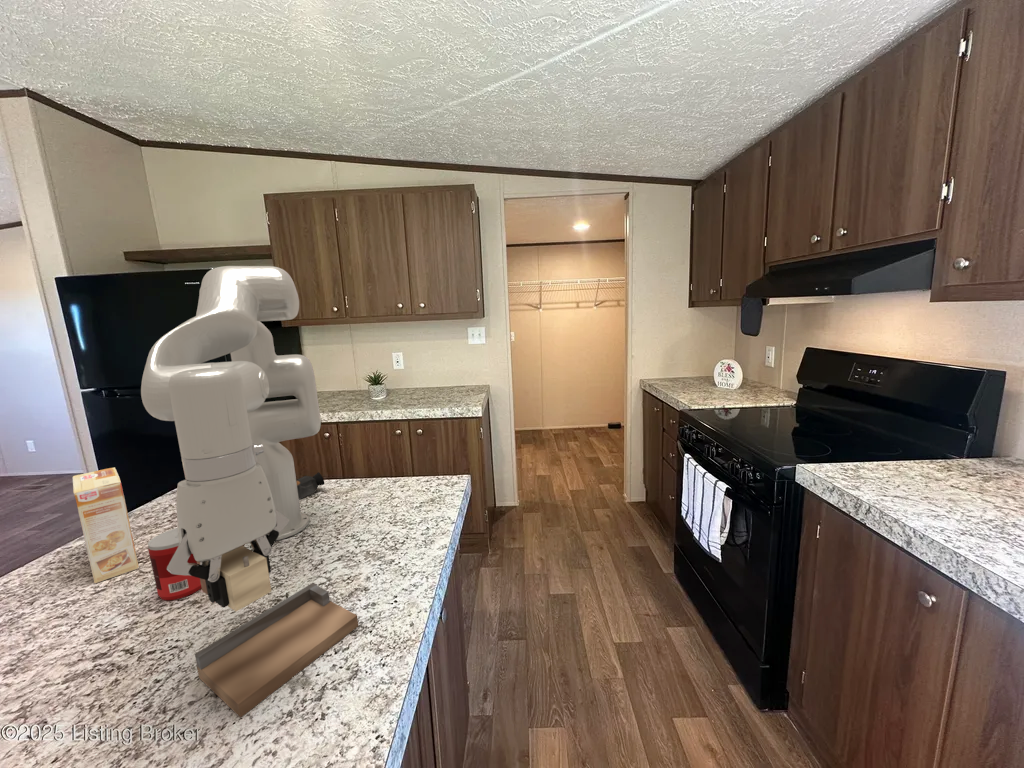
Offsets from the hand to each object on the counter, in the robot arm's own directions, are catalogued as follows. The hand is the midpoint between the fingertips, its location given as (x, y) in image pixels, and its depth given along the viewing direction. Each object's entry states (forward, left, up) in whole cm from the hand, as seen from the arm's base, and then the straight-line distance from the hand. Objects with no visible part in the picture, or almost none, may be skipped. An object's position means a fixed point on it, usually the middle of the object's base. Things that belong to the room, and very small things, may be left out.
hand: (242, 590), depth 56 cm
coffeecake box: (-60, 0, -14) cm, 62 cm away
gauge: (-2, 0, -1) cm, 2 cm away
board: (-2, +5, -14) cm, 15 cm away
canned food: (-35, +4, -14) cm, 38 cm away
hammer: (-56, +36, -14) cm, 68 cm away
